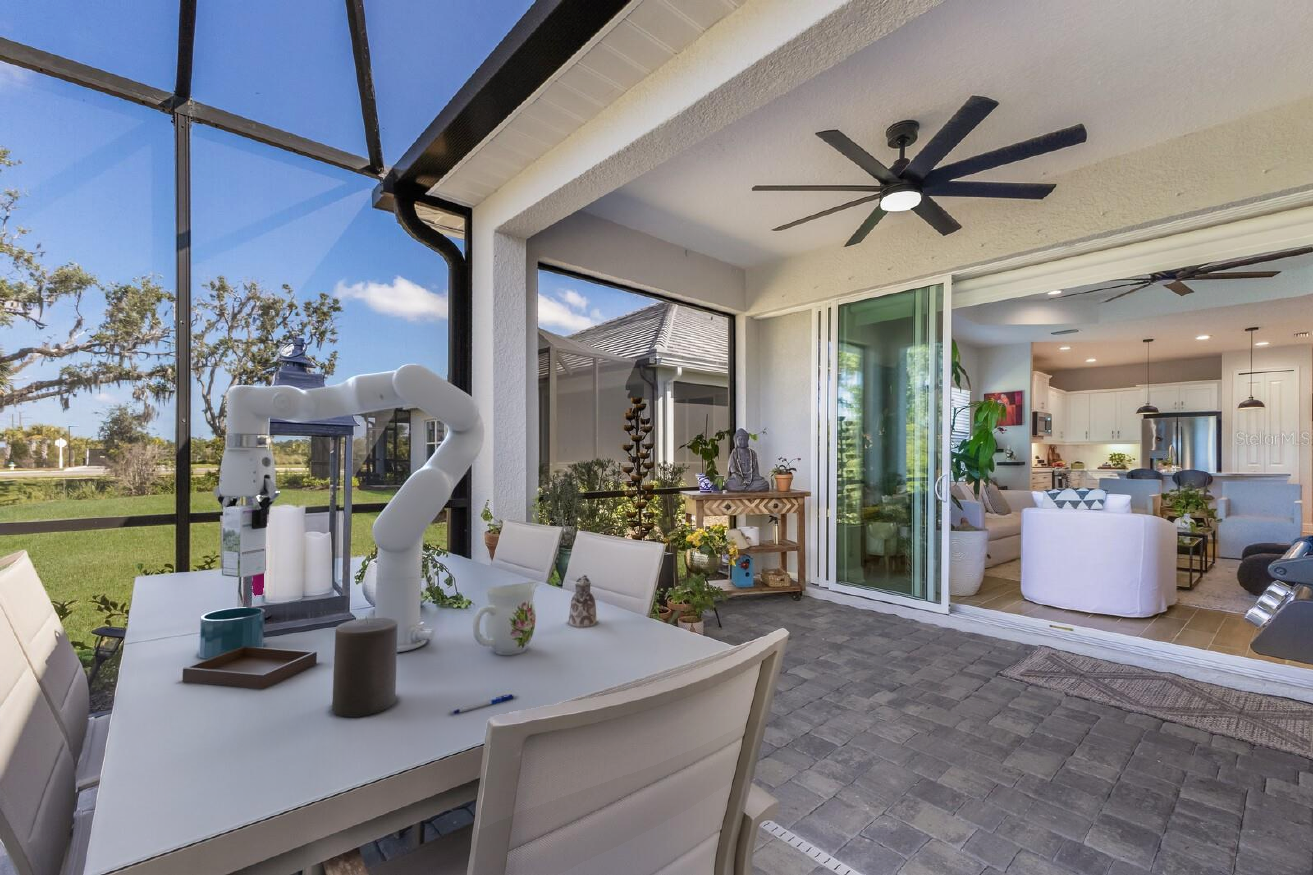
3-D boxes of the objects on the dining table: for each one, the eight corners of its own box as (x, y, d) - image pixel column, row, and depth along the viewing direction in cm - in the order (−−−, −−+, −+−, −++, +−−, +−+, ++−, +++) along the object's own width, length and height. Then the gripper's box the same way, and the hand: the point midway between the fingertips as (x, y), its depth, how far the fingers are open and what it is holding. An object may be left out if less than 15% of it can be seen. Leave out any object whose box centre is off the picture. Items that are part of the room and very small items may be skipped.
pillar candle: (353, 723, 91) (356, 628, 92) (320, 708, 97) (323, 618, 97) (407, 701, 100) (410, 615, 100) (374, 689, 105) (377, 606, 105)
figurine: (565, 625, 147) (566, 578, 147) (573, 618, 154) (574, 573, 154) (591, 627, 146) (592, 580, 146) (599, 620, 153) (600, 574, 153)
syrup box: (266, 573, 123) (268, 505, 124) (238, 578, 117) (240, 507, 118) (248, 571, 125) (250, 504, 125) (219, 576, 119) (221, 506, 120)
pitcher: (456, 657, 122) (458, 592, 123) (519, 636, 137) (521, 578, 138) (490, 668, 116) (492, 600, 117) (553, 645, 131) (554, 585, 132)
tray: (316, 664, 117) (317, 651, 117) (262, 689, 104) (263, 675, 104) (243, 658, 120) (244, 646, 120) (182, 681, 107) (182, 668, 107)
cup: (275, 644, 129) (277, 608, 129) (231, 661, 118) (232, 622, 118) (232, 641, 131) (234, 605, 131) (184, 657, 120) (186, 618, 120)
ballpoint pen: (511, 698, 103) (511, 692, 103) (513, 699, 102) (513, 693, 102) (453, 714, 96) (453, 707, 96) (455, 715, 95) (455, 709, 95)
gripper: (296, 444, 124) (294, 527, 124) (229, 444, 127) (226, 525, 127) (267, 443, 117) (265, 531, 116) (196, 443, 120) (193, 529, 119)
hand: (245, 527), depth 122 cm, fingers closed on syrup box, 6 cm apart
